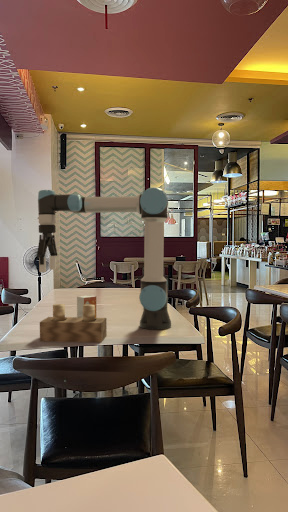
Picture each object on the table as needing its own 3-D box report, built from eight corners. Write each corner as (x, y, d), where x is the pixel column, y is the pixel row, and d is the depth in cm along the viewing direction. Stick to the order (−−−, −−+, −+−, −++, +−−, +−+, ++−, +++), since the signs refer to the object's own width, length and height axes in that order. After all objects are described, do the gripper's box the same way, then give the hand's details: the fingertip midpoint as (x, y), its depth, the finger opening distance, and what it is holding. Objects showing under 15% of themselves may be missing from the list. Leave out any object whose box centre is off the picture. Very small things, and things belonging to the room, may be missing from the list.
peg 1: (66, 322, 175) (66, 304, 174) (63, 324, 170) (62, 306, 169) (55, 322, 175) (54, 304, 175) (51, 324, 170) (51, 305, 170)
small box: (84, 323, 203) (83, 297, 202) (76, 321, 207) (76, 296, 207) (96, 321, 208) (96, 296, 208) (89, 319, 213) (89, 294, 212)
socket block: (106, 336, 176) (106, 317, 176) (101, 342, 165) (101, 323, 165) (48, 334, 179) (48, 316, 178) (39, 341, 168) (39, 322, 168)
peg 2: (95, 322, 173) (95, 304, 173) (93, 325, 168) (93, 306, 168) (84, 322, 174) (84, 304, 174) (81, 325, 169) (81, 306, 169)
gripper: (48, 225, 197) (49, 268, 198) (28, 223, 172) (29, 273, 173) (63, 225, 196) (63, 268, 197) (45, 223, 171) (46, 273, 172)
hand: (47, 270), depth 185 cm, fingers open, 13 cm apart
